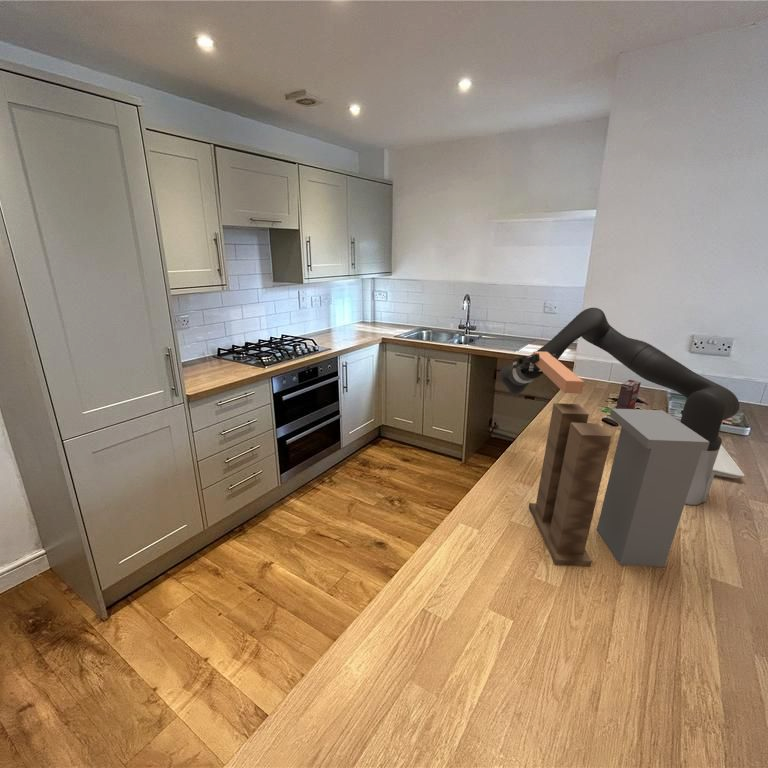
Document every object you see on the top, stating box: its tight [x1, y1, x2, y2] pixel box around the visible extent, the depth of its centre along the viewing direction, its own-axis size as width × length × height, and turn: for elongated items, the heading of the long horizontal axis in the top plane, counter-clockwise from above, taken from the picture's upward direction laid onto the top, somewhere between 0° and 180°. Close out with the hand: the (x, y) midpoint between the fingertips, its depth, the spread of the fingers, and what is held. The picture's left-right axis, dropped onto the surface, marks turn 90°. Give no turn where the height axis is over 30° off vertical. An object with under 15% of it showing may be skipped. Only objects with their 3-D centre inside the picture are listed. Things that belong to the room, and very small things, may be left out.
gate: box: [528, 402, 612, 568], centre depth 98 cm, size 8×21×32 cm, turn 178°
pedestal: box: [596, 408, 710, 568], centre depth 96 cm, size 12×16×32 cm
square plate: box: [712, 444, 745, 479], centre depth 143 cm, size 27×27×4 cm
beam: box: [532, 350, 585, 394], centre depth 108 cm, size 26×4×3 cm, turn 177°
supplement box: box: [615, 379, 641, 409], centre depth 169 cm, size 9×5×16 cm, turn 132°
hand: (546, 357), depth 115 cm, fingers closed on beam, 4 cm apart
